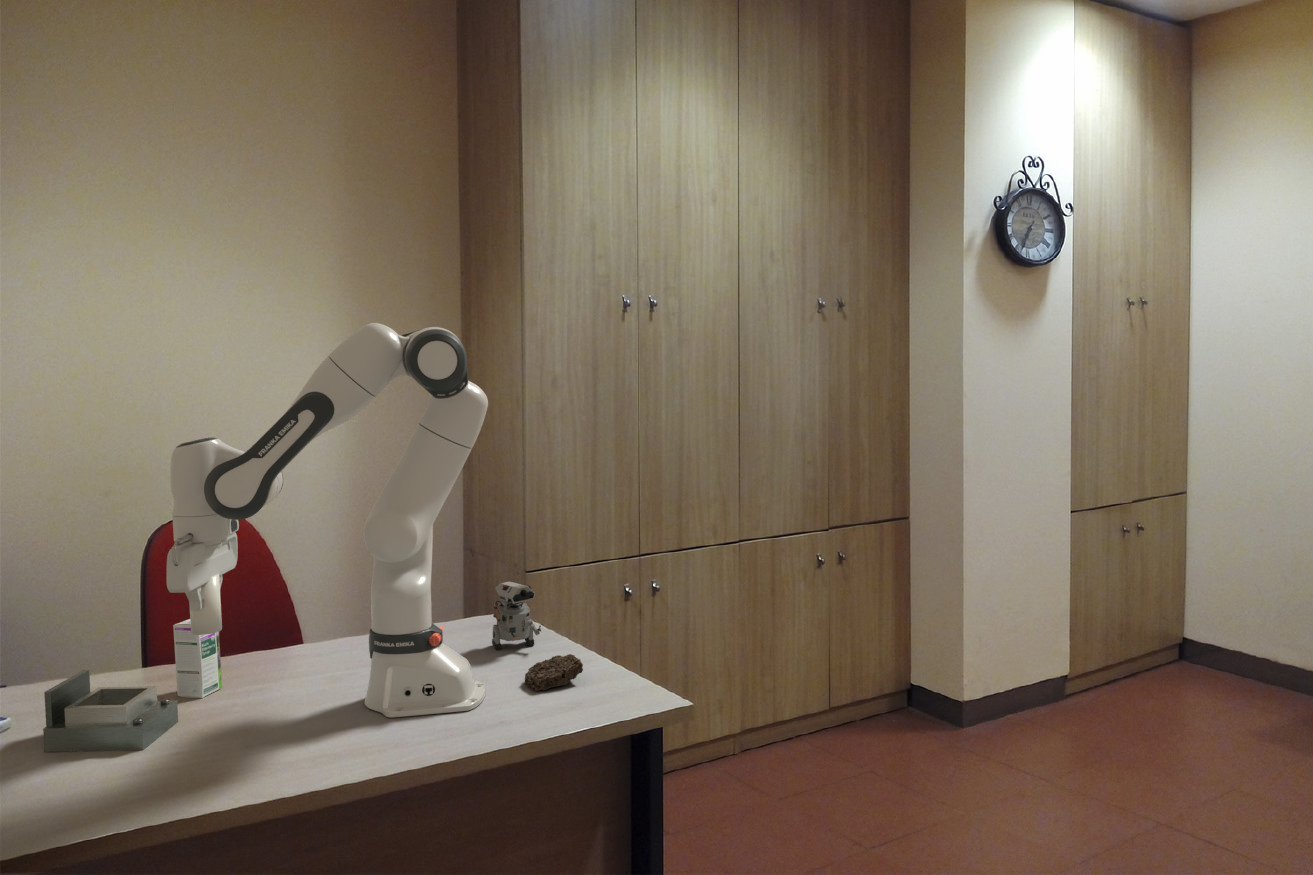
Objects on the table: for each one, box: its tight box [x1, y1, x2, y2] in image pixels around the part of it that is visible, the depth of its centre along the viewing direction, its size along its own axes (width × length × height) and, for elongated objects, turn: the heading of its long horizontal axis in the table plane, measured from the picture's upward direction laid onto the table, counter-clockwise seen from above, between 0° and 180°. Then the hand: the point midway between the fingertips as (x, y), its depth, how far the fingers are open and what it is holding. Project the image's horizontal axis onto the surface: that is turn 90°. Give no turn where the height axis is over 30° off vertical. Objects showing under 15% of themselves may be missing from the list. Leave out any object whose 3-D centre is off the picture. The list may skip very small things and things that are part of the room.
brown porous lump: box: [524, 653, 584, 692], centre depth 182 cm, size 12×10×5 cm
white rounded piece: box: [188, 574, 223, 635], centre depth 161 cm, size 7×5×10 cm
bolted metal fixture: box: [42, 669, 179, 753], centre depth 155 cm, size 16×12×10 cm
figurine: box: [491, 581, 542, 651], centre depth 204 cm, size 9×12×15 cm
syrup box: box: [172, 618, 223, 699], centre depth 176 cm, size 6×6×14 cm
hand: (205, 605), depth 161 cm, fingers closed on white rounded piece, 5 cm apart
